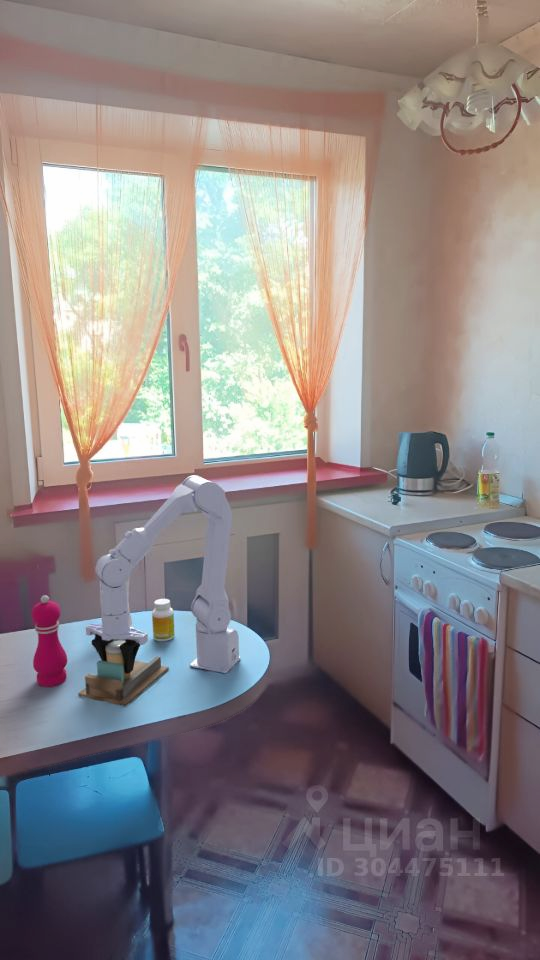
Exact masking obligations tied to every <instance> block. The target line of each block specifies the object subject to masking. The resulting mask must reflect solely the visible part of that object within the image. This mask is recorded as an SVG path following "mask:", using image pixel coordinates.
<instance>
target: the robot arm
mask: <svg viewBox="0 0 540 960" xmlns="http://www.w3.org/2000/svg"><path fill="white" fill-rule="evenodd" d="M228 501H229V500H228V499H227V497H226V491H225V490H224V489H223V488H222V487H221V486H220V485H219V484H218V483H216V482H215V481H210V480H207V479H205V478H203V477H201V476H200V475H196V474H195V475H194V474H193V475H189V476H188V477H187V476H186V478H185V479H184V480H183V481H182V483H180V484H178V485H177V486H175V488H174V490H173V492H172V493H171V494H170V496H169V497H168V498H167V500H166V501H164V503H163V504H162V505H161V506H160V507H159V508H158V510H157V511H156V512H155V513H154V514H153V515H152V516H151V518H150V519H149V520H148V521H147V522H146V523H145V524H144V525H143V527H138V528H136V527H135V528H133V529H132V530H131V531H130V530H127V531H126V532H125V533H124V536H125V537H124V538H123V539H122V540H121V541H120V542H119V543H118V544H117V545H116V546H115V547H114V548H111V549H109V551H108V553H109V554H108V553H107V554H104V555H102V556H101V557H100V558H99V559H98V560H97V562H96V565H95V567H94V572H95V575H97V577H98V578H99V600H100V613H101V623H90V624H88V625H86V626H85V633H86V634H85V635H86V636H88V637H89V636H94V638H93V639H92V640H91V645H92V647H94V649H95V650H96V652H97V654H98V656H99V658H100V660H101V661H106V662H107V657H106V649H105V646H106V645H107V644H108V643H110V642H113V641H114V640H120V641H125V642H124V643H123V644H122V645H120V646H119V648H120V650H121V653H122V656H123V660H124V670H125V673H126V674H129V673H130V672H131V671H132V670H133V668H134V662H135V661H136V658H137V657H136V656H137V654H138V652H139V649H140V647H141V646H144V645H145V644H147V642H149V634H148V632H144V631H141V630H140V629H137V628H134V627H133V626H132V627H130V624H129V610H130V608H129V609H128V600H129V598H128V593H127V584H126V582H127V581H128V579H130V577H131V572H132V569H134V567H136V566H137V565H138V564H139V562H140V561H141V560H142V559H143V558H144V557H145V556H146V555H148V553H149V552H150V551H151V550H152V549H153V548H154V545H155V544H154V542H155V538H156V537H157V536H158V535H160V534H161V533H162V532H163V531H164V530H165V529H166V528H167V527H168V526H169V525H170V524H171V523H172V522H174V520H176V519H177V518H178V517H179V516H180V515H181V514H187V513H188V514H189V513H197V512H198V510H200V511H201V513H202V514H203V515H205V517H206V518H207V524H206V535H205V545H204V555H203V563H202V564H203V565H202V566H203V567H202V575H201V584H200V585H199V586H198V588H197V589H196V592H195V597H194V599H193V601H192V603H191V604H190V605H191V607H190V611H191V613H192V615H193V616H194V617H195V618H196V619H195V620H196V621H195V622H196V623H195V638H196V641H195V642H196V658H195V659H194V660H193V661H192V662H191V663H190V664H189V667H191V668H196V669H201V670H207V671H212V672H218V673H223V674H226V673H229V671H230V670H231V669H232V668H233V667H234V666H235V664H237V663H238V662H239V660H241V655H240V646H239V644H240V641H239V633H238V630H236V629H233V628H232V627H230V626H229V625H230V623H231V619H232V613H231V610H230V606H229V604H230V600H229V597H228V594H227V592H226V589H225V586H226V578H227V577H226V575H227V570H228V569H227V567H228V559H229V558H228V557H229V550H230V548H229V547H230V539H231V531H232V530H231V529H232V520H233V519H232V518H233V511H232V508H231V506H230V504H229V502H228ZM197 508H198V509H197Z"/></svg>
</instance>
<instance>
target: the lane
mask: <svg viewBox="0 0 540 960" xmlns="http://www.w3.org/2000/svg"><path fill="white" fill-rule="evenodd" d="M161 659H162V658H161V656H159V655H157V656H155V657H154V658H153V659H151V661H149V662H145V661H140V660H135V662H134V668H133V670H132V671H131V672H130V674H131V677H130V678H129V679H128V680H127V681H126V682H124V683H123V681H120V680H115V679H110V678H105V677H100V676H98V673H97V674H96V675H95V674H91V673H90V674H89V673H88V674H86V675H85V676H84V681H85V687H84V688H83V689H81V691H79V692H78V693H77V695H78V696H79V697H82V698H85V699H86V698H87V699H89V700H90V699H92V700H95V701H100V702H104V703H109V704H113V705H118V706H121V707H127V706H128V705H130V704H131V703H132V702H133V701H134V700H135V699H136V698H137V697H139V696H140V695H141V694H142V693H143V692H144V691H146V690H147V689H148V688H150V686H151V685H153V684H154V683H155V682H156V681H157V680H158V679H160V677H161V676H163V675H164V674H166V672H167V671H168V670H169V669H170V668H169V666H166V665H162V661H161Z"/></svg>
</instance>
